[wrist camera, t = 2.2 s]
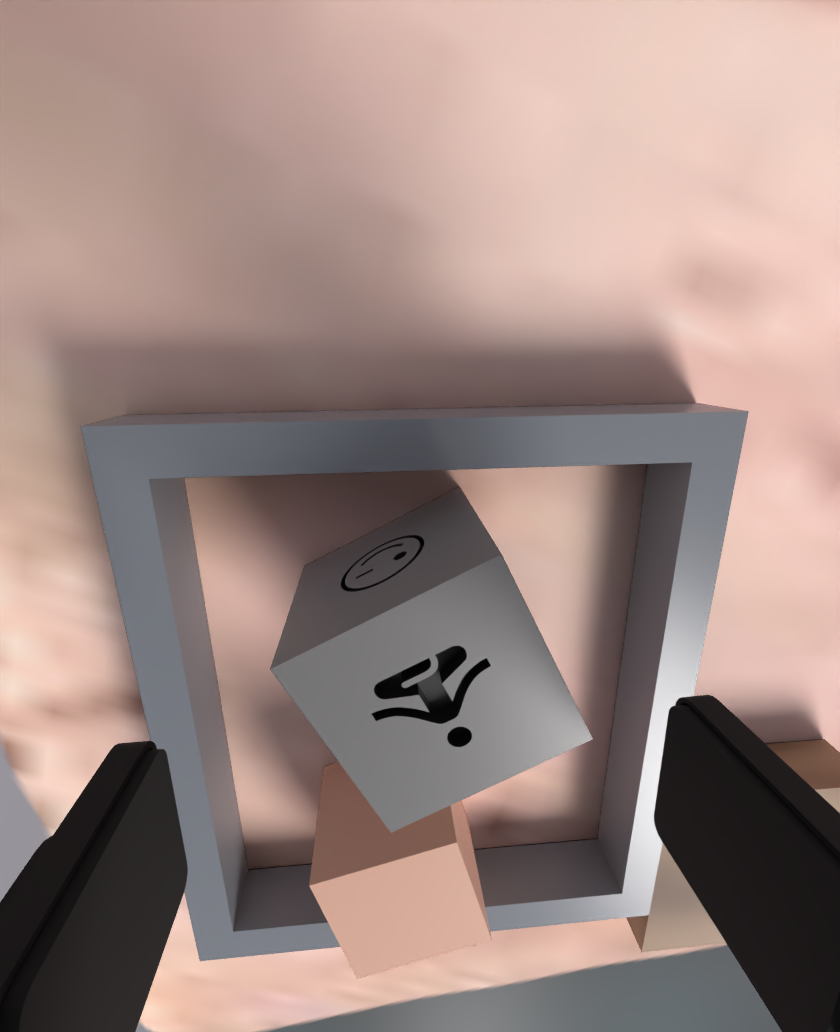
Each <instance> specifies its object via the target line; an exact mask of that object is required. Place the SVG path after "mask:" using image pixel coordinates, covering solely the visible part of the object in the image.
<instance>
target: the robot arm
mask: <svg viewBox="0 0 840 1032" xmlns="http://www.w3.org/2000/svg"><path fill="white" fill-rule="evenodd" d="M654 823H655V827H656V830H657V833H658V835H659V837H660V839H661V841H662V842H663V844H664V845H665V847H666V849H667V850H668V852H669V853H670V855H671V856H672V858H673V860H674V861H675V863H676V864H677V866H678V867H679V869H680V871H681V872H682V874H683V875H684V877H685V879H686V880H687V882H688V883H689V885H690V886H691V888H692V890H693V891H694V893H695V894H696V896H697V898H698V899H699V901H700V902H701V904H702V905H703V907H704V909H705V910H706V912H707V913H708V915H709V916H710V918H711V920H712V921H713V923H714V924H715V926H716V928H717V929H718V931H719V932H720V934H721V935H722V937H723V939H724V940H725V942H726V943H727V945H728V947H729V948H730V950H731V951H732V953H733V954H734V956H735V958H736V959H737V961H738V962H739V964H740V965H741V967H742V969H743V970H744V972H745V973H746V975H747V976H748V978H749V980H750V981H751V983H752V984H753V986H754V988H755V989H756V991H757V992H758V994H759V996H760V997H761V999H762V1000H763V1002H764V1003H765V1005H766V1006H767V1008H768V1010H769V1011H770V1013H771V1014H772V1016H773V1018H774V1019H775V1021H776V1022H777V1024H778V1026H779V1027H780V1029H781V1030H782V1032H840V813H839V812H838V811H837V810H836V809H835V808H834V807H833V806H832V805H830V804H829V803H828V802H827V801H826V800H825V799H824V798H823V797H822V796H821V795H820V794H819V793H818V792H816V791H815V790H814V789H813V788H812V787H811V786H810V785H809V784H808V783H807V782H806V781H805V780H804V779H802V778H801V777H800V776H799V775H798V774H797V773H796V772H795V771H794V770H793V769H792V768H791V767H790V766H788V765H787V764H786V763H785V762H784V761H783V760H782V759H781V758H780V757H779V756H778V755H777V754H776V753H774V752H773V751H772V750H771V749H770V748H769V747H768V746H767V745H766V744H765V743H764V742H763V741H762V740H760V739H759V738H758V737H757V736H756V735H755V734H754V733H753V732H752V731H751V730H750V729H749V728H748V727H746V726H745V725H744V724H743V723H742V722H741V721H740V720H739V719H738V718H737V717H736V716H735V715H734V714H732V713H731V712H730V711H729V710H728V709H727V708H726V707H725V706H724V705H723V704H722V703H721V702H720V701H718V700H717V699H716V698H715V697H713V696H710V695H703V696H691V697H681V698H679V699H678V700H677V701H676V705H675V706H672V707H671V708H670V709H669V713H668V720H667V727H666V734H665V741H664V748H663V755H662V762H661V769H660V776H659V783H658V790H657V797H656V804H655V811H654ZM187 874H188V866H187V859H186V854H185V849H184V843H183V838H182V832H181V827H180V822H179V816H178V811H177V806H176V800H175V795H174V789H173V784H172V779H171V773H170V768H169V763H168V757H167V753H166V751H165V750H164V749H157V747H156V744H155V743H154V742H153V741H144V742H132V743H120V744H117V745H115V746H114V747H113V748H112V749H111V750H110V752H109V753H108V755H107V756H106V758H105V759H104V761H103V762H102V764H101V765H100V767H99V768H98V770H97V771H96V773H95V774H94V776H93V777H92V779H91V780H90V781H89V783H88V784H87V786H86V787H85V789H84V790H83V792H82V793H81V795H80V796H79V798H78V799H77V801H76V802H75V804H74V805H73V807H72V808H71V810H70V811H69V813H68V814H67V816H66V817H65V819H64V820H63V822H62V823H61V824H60V826H59V827H58V829H57V830H56V832H55V833H54V835H53V836H51V837H49V838H48V839H46V840H45V841H44V842H43V843H42V844H41V845H40V847H39V848H38V849H37V850H36V852H35V853H34V854H33V856H32V857H31V859H30V860H29V862H28V863H27V865H26V866H25V867H24V869H23V870H22V872H21V873H20V875H19V876H18V877H17V879H16V880H15V882H14V883H13V885H12V886H11V888H10V889H9V890H8V892H7V894H6V895H5V897H4V898H3V899H2V901H1V902H0V1032H135V1031H136V1028H137V1025H138V1022H139V1020H140V1017H141V1014H142V1011H143V1008H144V1005H145V1002H146V1000H147V997H148V994H149V991H150V988H151V985H152V982H153V979H154V977H155V974H156V971H157V968H158V965H159V962H160V959H161V957H162V954H163V951H164V948H165V945H166V942H167V939H168V936H169V934H170V931H171V928H172V925H173V922H174V919H175V916H176V914H177V911H178V908H179V905H180V902H181V899H182V896H183V893H184V890H185V887H186V882H187Z"/></svg>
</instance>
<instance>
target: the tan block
mask: <svg viewBox="0 0 840 1032" xmlns="http://www.w3.org/2000/svg"><path fill="white" fill-rule="evenodd" d="M766 745H767V746H768V747H769V748H770V749H771V750H772V751H773V752H774V753H776V754H777V755H778V756H779V757H780V758H781V759H782V760H783V761H784V762H785V763H786V764H787V765H788V766H790V767H791V768H792V769H793V770H794V771H795V772H796V773H797V774H798V775H799V776H800V777H801V778H802V779H804V780H805V781H806V782H807V783H808V784H809V785H810V786H811V787H812V788H813V789H814V790H815V791H816V792H818V793H819V794H820V795H821V796H822V797H823V798H824V799H825V800H826V801H827V802H828V803H829V804H830V805H832V806H833V807H834V808H835V809H836V810H837V811H838V812H839V813H840V752H838V751H837V750H836V749H835V748H834V747H833V746H831V745H830V744H829V743H828V742H827V741H826V740H825V739H823V740H810V741H797V742H784V743H771V744H766ZM626 918H627V920H628V922H629V925H630V927H631V929H632V931H633V934H634V936H635V938H636V940H637V943H638V945H639V947H640V949H641V952H649V951H658V950H667V949H676V948H686V947H695V946H704V945H713V944H723V943H726V942H725V940H724V939H723V937H722V935H721V934H720V932H719V931H718V929H717V928H716V926H715V924H714V923H713V921H712V920H711V918H710V916H709V915H708V913H707V912H706V910H705V909H704V907H703V905H702V904H701V902H700V901H699V899H698V898H697V896H696V894H695V893H694V891H693V890H692V888H691V886H690V885H689V883H688V882H687V880H686V879H685V877H684V875H683V874H682V872H681V871H680V869H679V867H678V866H677V864H676V863H675V861H674V860H673V858H672V856H671V855H670V853H669V852H668V850H667V849H666V847H665V845H664V844H663V843H662V848H661V854H660V859H659V864H658V869H657V875H656V880H655V885H654V890H653V896H652V901H651V906H650V911H649V915H646V916H636V917H626Z"/></svg>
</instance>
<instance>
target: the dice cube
mask: <svg viewBox="0 0 840 1032" xmlns="http://www.w3.org/2000/svg"><path fill="white" fill-rule="evenodd" d="M270 670H271V671H272V672H273V674H274V675H275V677H276V678H277V679H278V681H279V682H280V683H281V685H282V686H283V687H284V689H285V690H286V691H287V693H288V694H289V695H290V697H291V698H292V700H293V701H294V702H295V704H296V705H297V706H298V708H299V709H300V710H301V712H302V713H303V714H304V716H305V717H306V718H307V720H308V721H309V723H310V724H311V725H312V727H313V728H314V729H315V731H316V732H317V733H318V735H319V736H320V737H321V739H322V740H323V741H324V743H325V744H326V745H327V747H328V748H329V750H330V751H331V752H332V754H333V755H334V756H335V758H336V759H337V760H338V762H339V763H340V764H341V766H342V767H343V768H344V770H345V771H346V773H347V774H348V775H349V777H350V778H351V779H352V781H353V782H354V783H355V785H356V786H357V787H358V789H359V790H360V791H361V793H362V794H363V796H364V797H365V798H366V800H367V801H368V802H369V804H370V805H371V806H372V808H373V809H374V810H375V812H376V813H377V814H378V816H379V817H380V818H381V820H382V821H383V823H384V824H385V825H386V827H387V828H388V829H389V831H390V832H391V833H392V832H394V831H396V830H398V829H400V828H402V827H404V826H407V825H409V824H411V823H413V822H415V821H417V820H420V819H422V818H424V817H426V816H428V815H430V814H433V813H435V812H437V811H439V810H441V809H443V808H445V807H448V806H450V805H452V804H454V803H456V802H458V801H461V800H463V799H465V798H467V797H469V796H471V795H474V794H476V793H478V792H480V791H482V790H484V789H486V788H489V787H491V786H493V785H495V784H497V783H499V782H502V781H504V780H506V779H508V778H510V777H512V776H515V775H517V774H519V773H521V772H523V771H525V770H527V769H530V768H532V767H534V766H536V765H538V764H540V763H543V762H545V761H547V760H549V759H551V758H553V757H556V756H558V755H560V754H562V753H564V752H566V751H568V750H571V749H573V748H575V747H577V746H579V745H581V744H584V743H586V742H588V741H590V740H592V739H593V738H592V736H591V734H590V732H589V730H588V728H587V726H586V724H585V722H584V720H583V718H582V716H581V714H580V712H579V710H578V708H577V706H576V704H575V702H574V700H573V698H572V696H571V694H570V692H569V690H568V688H567V686H566V684H565V682H564V680H563V678H562V676H561V674H560V672H559V670H558V668H557V665H556V663H555V661H554V659H553V657H552V655H551V653H550V651H549V649H548V647H547V645H546V643H545V641H544V639H543V637H542V635H541V633H540V631H539V629H538V627H537V625H536V623H535V621H534V619H533V617H532V615H531V613H530V611H529V609H528V607H527V605H526V603H525V601H524V599H523V597H522V595H521V593H520V591H519V589H518V587H517V585H516V583H515V580H514V578H513V576H512V574H511V572H510V570H509V568H508V566H507V564H506V562H505V560H504V558H503V556H502V554H501V553H500V551H499V549H498V548H497V546H496V544H495V543H494V541H493V540H492V538H491V536H490V535H489V533H488V532H487V530H486V528H485V527H484V525H483V524H482V522H481V520H480V519H479V517H478V515H477V514H476V512H475V511H474V509H473V507H472V506H471V504H470V503H469V501H468V499H467V498H466V496H465V495H464V493H463V491H462V490H461V488H460V487H458V488H456V489H454V490H452V491H450V492H448V493H446V494H444V495H442V496H440V497H438V498H436V499H434V500H432V501H430V502H428V503H426V504H424V505H422V506H420V507H419V508H417V509H415V510H413V511H411V512H409V513H407V514H405V515H403V516H401V517H399V518H397V519H395V520H393V521H391V522H389V523H387V524H385V525H383V526H381V527H380V528H378V529H376V530H374V531H372V532H370V533H368V534H366V535H364V536H362V537H360V538H358V539H356V540H354V541H352V542H350V543H348V544H346V545H344V546H342V547H341V548H339V549H337V550H335V551H333V552H331V553H329V554H327V555H325V556H323V557H321V558H319V559H317V560H315V561H313V562H311V563H309V564H307V565H305V566H304V568H303V571H302V574H301V578H300V581H299V584H298V587H297V590H296V593H295V596H294V599H293V602H292V605H291V608H290V611H289V614H288V617H287V620H286V623H285V626H284V629H283V632H282V635H281V638H280V641H279V644H278V647H277V650H276V653H275V656H274V660H273V663H272V666H271V669H270Z"/></svg>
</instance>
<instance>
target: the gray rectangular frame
mask: <svg viewBox="0 0 840 1032" xmlns="http://www.w3.org/2000/svg"><path fill="white" fill-rule="evenodd" d="M747 417H748V411H743V410H737V409H730V408H724V407H718V406H712V405H706V404H700V403H677V404H628V405H580V406H532V407H484V408H436V409H388V410H340V411H292V412H244V413H196V414H148V415H122V416H119V417H115V418H111V419H107V420H103V421H99V422H96V423H92V424H88V425H84V426H81V431H82V435H83V440H84V444H85V448H86V453H87V457H88V462H89V466H90V471H91V475H92V480H93V484H94V489H95V493H96V498H97V502H98V507H99V511H100V516H101V520H102V525H103V529H104V534H105V538H106V543H107V547H108V552H109V556H110V561H111V565H112V569H113V574H114V578H115V583H116V587H117V592H118V596H119V601H120V605H121V610H122V614H123V619H124V623H125V628H126V632H127V637H128V641H129V646H130V650H131V655H132V659H133V664H134V668H135V673H136V677H137V681H138V686H139V690H140V695H141V699H142V704H143V708H144V713H145V717H146V722H147V726H148V731H149V735H150V740H151V741H153V742H154V743H155V744H156V747H157V749H164V750H165V751H166V753H167V757H168V763H169V768H170V773H171V779H172V784H173V789H174V795H175V800H176V806H177V811H178V816H179V822H180V827H181V832H182V838H183V843H184V849H185V854H186V859H187V866H188V874H187V882H186V887H185V890H184V892H185V897H186V901H187V906H188V910H189V915H190V919H191V923H192V928H193V932H194V937H195V941H196V946H197V950H198V955H199V959H200V961H205V960H215V959H225V958H235V957H244V956H254V955H264V954H274V953H284V952H293V951H303V950H313V949H323V948H333V947H341V946H340V945H339V943H338V941H337V939H336V937H335V935H334V933H333V931H332V929H331V927H330V925H329V923H328V921H327V919H326V917H325V915H324V914H323V912H322V910H321V908H320V906H319V904H318V902H317V900H316V898H315V896H314V894H313V892H312V890H311V888H310V886H309V883H310V875H311V866H312V864H310V865H299V866H288V867H277V868H266V869H254V870H248V866H247V860H246V853H245V847H244V841H243V835H242V829H241V823H240V817H239V811H238V805H237V798H236V792H235V786H234V780H233V774H232V768H231V762H230V756H229V750H228V744H227V737H226V731H225V725H224V719H223V713H222V707H221V701H220V695H219V689H218V682H217V676H216V670H215V664H214V658H213V652H212V646H211V640H210V634H209V628H208V621H207V615H206V609H205V603H204V597H203V591H202V585H201V579H200V573H199V566H198V560H197V554H196V548H195V542H194V536H193V530H192V524H191V518H190V512H189V505H188V499H187V493H186V487H185V481H184V478H192V477H225V476H258V475H291V474H324V473H357V472H390V471H423V470H456V469H489V468H522V467H556V466H589V465H622V464H648V466H647V473H646V481H645V488H644V495H643V503H642V510H641V518H640V525H639V533H638V540H637V548H636V555H635V562H634V570H633V577H632V585H631V592H630V600H629V607H628V614H627V622H626V629H625V637H624V644H623V652H622V659H621V666H620V674H619V681H618V689H617V696H616V704H615V711H614V719H613V726H612V733H611V741H610V748H609V756H608V763H607V771H606V778H605V785H604V793H603V800H602V808H601V815H600V823H599V830H598V838H597V839H591V840H579V841H568V842H557V843H546V844H535V845H523V846H512V847H501V848H490V849H479V850H474V854H475V859H476V864H477V869H478V874H479V879H480V884H481V889H482V894H483V899H484V904H485V909H486V914H487V919H488V924H489V929H490V931H499V930H509V929H519V928H529V927H538V926H548V925H558V924H568V923H577V922H587V921H597V920H607V919H617V918H626V917H636V916H646V915H649V911H650V906H651V901H652V896H653V890H654V885H655V880H656V875H657V869H658V864H659V859H660V854H661V848H662V843H663V842H662V841H661V839H660V837H659V835H658V833H657V830H656V827H655V823H654V811H655V804H656V797H657V790H658V783H659V776H660V769H661V762H662V755H663V748H664V741H665V734H666V727H667V720H668V713H669V709H670V708H671V707H672V706H675V705H676V701H677V700H678V699H679V698H681V697H691V696H694V692H695V687H696V681H697V676H698V671H699V666H700V661H701V655H702V650H703V645H704V640H705V635H706V630H707V624H708V619H709V614H710V609H711V604H712V598H713V593H714V588H715V583H716V578H717V572H718V567H719V562H720V557H721V552H722V546H723V541H724V536H725V531H726V526H727V520H728V515H729V510H730V505H731V500H732V494H733V489H734V484H735V479H736V474H737V468H738V463H739V458H740V453H741V448H742V442H743V437H744V432H745V427H746V422H747Z"/></svg>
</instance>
